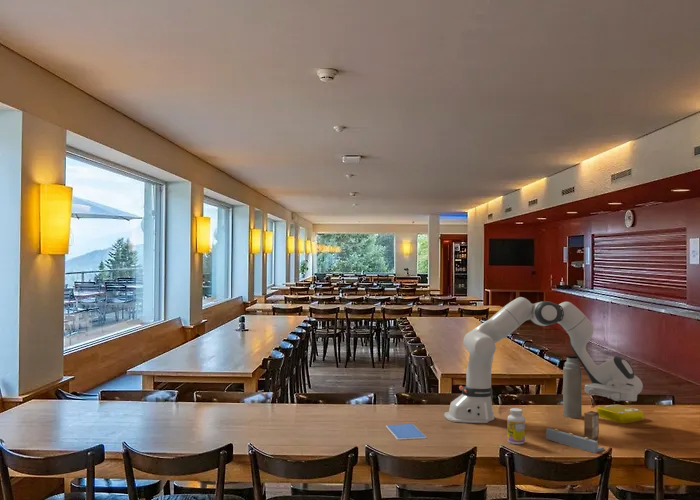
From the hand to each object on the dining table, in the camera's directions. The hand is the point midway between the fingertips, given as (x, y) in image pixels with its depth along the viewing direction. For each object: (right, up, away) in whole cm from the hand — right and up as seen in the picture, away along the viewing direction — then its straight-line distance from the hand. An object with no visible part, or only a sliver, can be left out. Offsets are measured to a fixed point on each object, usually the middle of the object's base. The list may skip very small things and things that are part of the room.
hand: (599, 394), depth 237 cm
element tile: (+21, -18, +25) cm, 37 cm away
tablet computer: (-81, -16, -2) cm, 83 cm away
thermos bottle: (-1, -17, +27) cm, 32 cm away
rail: (-16, -16, -15) cm, 27 cm away
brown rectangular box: (-8, -16, -10) cm, 20 cm away
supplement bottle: (-39, -16, -13) cm, 44 cm away
